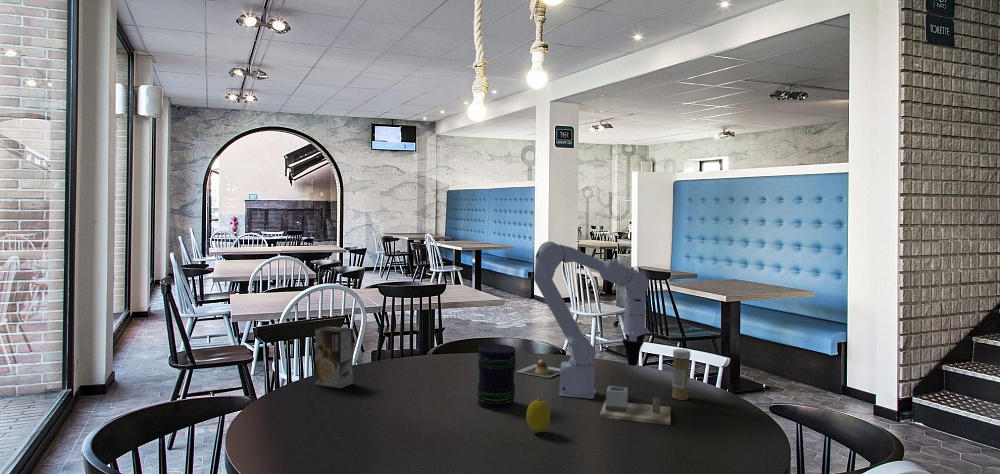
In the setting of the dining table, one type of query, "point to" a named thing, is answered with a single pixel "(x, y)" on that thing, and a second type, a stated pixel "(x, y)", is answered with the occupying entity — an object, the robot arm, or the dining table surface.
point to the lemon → (538, 415)
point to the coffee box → (333, 356)
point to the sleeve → (616, 398)
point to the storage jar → (496, 377)
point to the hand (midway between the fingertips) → (633, 362)
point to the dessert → (539, 369)
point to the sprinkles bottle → (681, 374)
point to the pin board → (641, 413)
